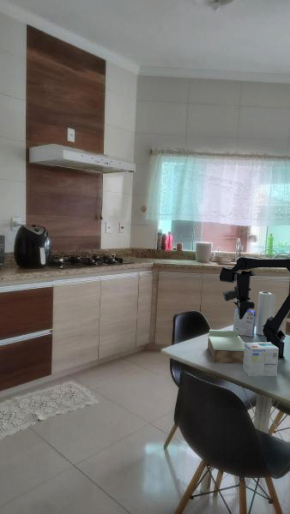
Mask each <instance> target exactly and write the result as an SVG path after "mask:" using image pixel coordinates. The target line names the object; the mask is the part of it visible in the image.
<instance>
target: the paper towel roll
mask: <svg viewBox="0 0 290 514" xmlns="http://www.w3.org/2000/svg"><path fill="white" fill-rule="evenodd" d="M276 300H277V294H275V293H271V292H270V291H268V292H267V291H259V292H258V302H257V312H256V323H255V333H256V335H259V336H264V337H265V335H264V334H263V328H264V327H263V325H265V323H266V321H267V319H268V318H270V317H271V316H272V317H273V318H274V317H275V315H276V302H277V301H276Z"/></svg>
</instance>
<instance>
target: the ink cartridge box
mask: <svg viewBox="0 0 290 514" xmlns="http://www.w3.org/2000/svg"><path fill="white" fill-rule="evenodd" d="M256 318H257V312H256V310H252V309H248V310H247V312H246V313H245V315H244V317H243V318H242V319H239V315H238V310H237V308H235V310H234V313H233V324H232V325H233V326H232V331H238V335H239V336H245V337H251V338H252V337H253V336H254V335H255V330H256Z"/></svg>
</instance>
